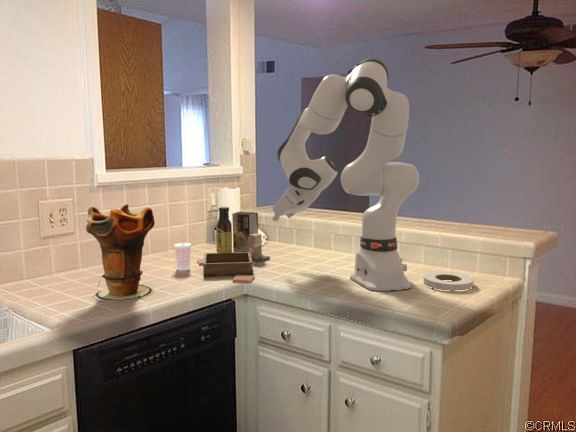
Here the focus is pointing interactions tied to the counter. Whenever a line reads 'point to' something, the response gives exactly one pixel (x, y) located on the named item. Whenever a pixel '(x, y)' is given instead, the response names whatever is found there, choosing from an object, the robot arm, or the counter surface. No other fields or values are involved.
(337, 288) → the counter surface
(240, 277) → the tile
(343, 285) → the counter surface
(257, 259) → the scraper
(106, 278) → the decorative vase
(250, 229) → the coffee box
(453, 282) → the roll of tape
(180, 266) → the beverage cup
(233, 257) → the box
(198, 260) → the tile
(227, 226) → the sauce bottle
